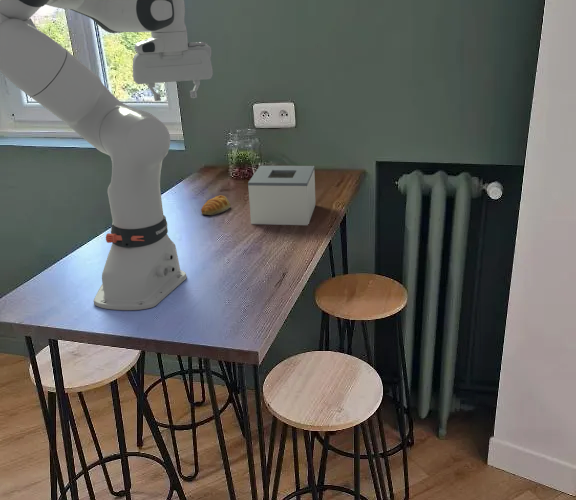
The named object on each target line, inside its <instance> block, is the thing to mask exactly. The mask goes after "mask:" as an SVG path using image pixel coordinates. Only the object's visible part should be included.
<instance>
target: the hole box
mask: <svg viewBox="0 0 576 500" xmlns="http://www.w3.org/2000/svg"><path fill="white" fill-rule="evenodd" d="M315 177H316V176H315V165H259V167H258V168H257V170H256V171H255V172H254V173H253V175H252V177H251V178H250V179H249V180H248V182H247V186H248V200H249V201H248V202H249V211H250V212H249V215H250V224H251V225H271V226H272V225H275V226H277V225H278V226H279V225H281V226H286V225H287V226H309V225H308V224H310V222H311V218H312V216H313V214H314V211H315V207H316V181H315V179H316V178H315Z"/></svg>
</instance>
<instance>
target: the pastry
mask: <svg viewBox="0 0 576 500" xmlns="http://www.w3.org/2000/svg"><path fill="white" fill-rule="evenodd" d="M231 205H232V204H231V203H230V201H229V199H228V198H227V196H225V195H221V194H220V195H216V196H214V197H212V198H209V199H208V200H207V201H206V202H205V203H204V204H203V205H202V207H201V209H200V211H201V215H205V216H206V215H207V216H214V215H217V214H221V213H223V212H225V211H227V210H229V209H230V208H231Z"/></svg>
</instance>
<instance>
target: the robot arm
mask: <svg viewBox="0 0 576 500" xmlns="http://www.w3.org/2000/svg"><path fill="white" fill-rule="evenodd" d="M45 5H46V6H49V7H53V8H58V9H61V10H62V9H63V10H70V11H73V12H75V13H78V14H81V15H82V16H85V17H88V18H89V19H91V20H92V21H93V22H95V23H96V24H97V25H98V26H99V27H100V28H101V29H102V30H104V31H105V32H108V33H111V34H118V33H119V34H120V33H150V34H151V37H148V38H146V39H143V40H141V41H138V42H135V44H134V51H135V52H136V53H135V54H134V55H133V57H132V78H133V81H134V83H136V84H137V85H146V84H147V85H148V88H149V89H150V91H151V92H152V94H153V99H154V102H161V100H162V98H161V94H160V92H156V90H155V89H154V88H155V87H156V84H161V83H163V84H164V83H173V82H186V81H187V82H188V81H192V83H193V84H194V86H193V89H192V90H189V97H190V98H191V99H196V98H198V92H197V91H198V90H199V87H200V85H201V80H202V81H203V80H211V79H212V77H213V76H214V71H213V65H212V60H211V58H212V56H213V55H212V47H211V46H210V44H209V43H206V42H205V41H199V42H196V41H195V42H192V41H191V42H189V41H188V40H189V39H188V31H187V30H188V29H187V26H186V22H185V15H186V8H185V7H186V6H185V0H0V73H2V75H4V76H5V77H6V78H7V79H8V80H9V81H10V82H11V84H13V85H15V87H17V88H18V89H19V90H21V91H22V92H23V93H24V94H26V95H27V96H29V98H31V99H32V100H34V101H36V102H37V103H38V104H40V105H41V106H42V107H44V109H46V110H48V111H49V112H50V113H52V114H53V115H54V116H56V117H57V118H58V119H59V120H61V121H62V122H64V123H65V125H67V126H68V127H69V128H71V130H73V131H74V132H75V133H77V135H79V136H80V137H82V139H84V140H85V141H86V142H87V143H88V144H90V145H91V146H92V147H94V148H95V149H97V151H99V152H101V153H103V154H104V155H107V156H109V157H110V159H111V166H112V167H111V179H110V183H109V185H108V187H107V195H108V197H107V198H108V203H109V208H110V214H111V219H112V222H111V228H110V233H107V234H106V235H105V242H106V243H108V244H110V243H111V247H110V250H109V252H108V255H107V258H106V260H105V264H104V267H103V269H102V272H101V273H102V274H101V282H102V284H101V285H100V287H99V289H98V291H97V293H96V295H95V296H94V298H93V305H94V306H97V307H98V308H102V309H106V310H107V309H108V310H115V311H138V310H145V309H151V308H154V307H155V306H157V305H158V304H159V303H161V301H162V300H164V299H165V298H166V297H168V295H169V294H171V293H172V292H173V291H174V290H175V289H176V288H177V287H178V286H180V285H181V284H182V283H183V282H184V281H185V280H186V279H187V278H188V276H187V275H188V274H187V273H186V272H185V271H184V270H182V269H181V265H180V262H179V256H178V252H177V248H176V244H175V243H174V241H172V240H171V238H170V237H169V235H168V233H169V230H168V221H167V217H166V216H165V215H164V210H163V201H162V193H161V172H162V171H161V170H162V166H163V165H162V164H163V160H164V159H165V157H166V156H167V155H168V153H169V150H170V147H171V135H170V132H169V129H168V128H167V127H166V125H165V124H164V123H163V122H162V121H161V120H159V118H157V116H154V115H153V114H152V113H150V112H149V111H144V110H142V109H137V108H134V107H132V106H129V105H127V104H125V103H123V102H122V101H120V99H118V98H117V97H116V96H114V94H113V93H112V92H111V91H110V90H109V89H108V88H107V87H106V86H105V84H104V83H103V82H102V80H101V78H100V77H99V76H98V75H97V74H96V73H94V72H93V71H92V70H91V69H89V67H87V66H86V65H85V64H84V63H82V62H81V61H80V60H79V59H78V58H76V57H75V56H74V55H73V54H72V53H70V52H69V51H68V50H67V49H66V48H65V47H63V46H62V45H61V44H59V42H57V41H55V40H54V39H53V38H52V37H50V36H49V35H47V34H46V33H45V32H43V31H41V30H39V29H38V27H37V25H35V23H34V21H33V20H32V18H31V17H33V15H35V13H37V12H38V11H39V9H40V8H42V7H44V6H45Z"/></svg>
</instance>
